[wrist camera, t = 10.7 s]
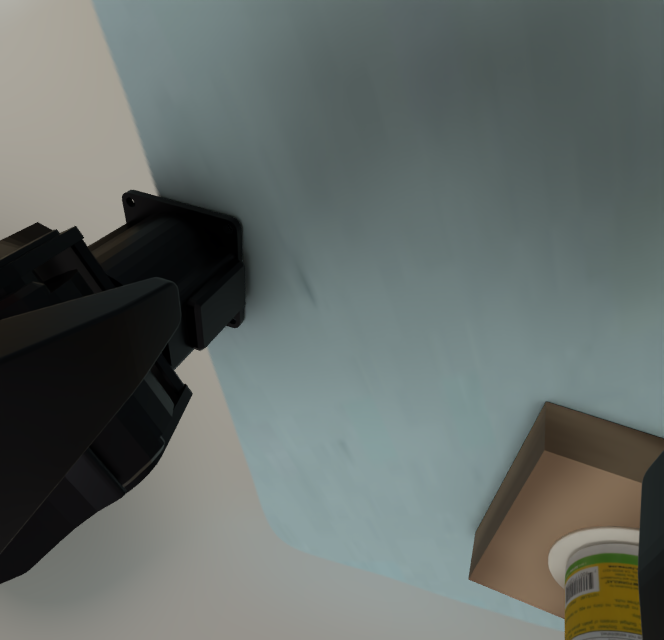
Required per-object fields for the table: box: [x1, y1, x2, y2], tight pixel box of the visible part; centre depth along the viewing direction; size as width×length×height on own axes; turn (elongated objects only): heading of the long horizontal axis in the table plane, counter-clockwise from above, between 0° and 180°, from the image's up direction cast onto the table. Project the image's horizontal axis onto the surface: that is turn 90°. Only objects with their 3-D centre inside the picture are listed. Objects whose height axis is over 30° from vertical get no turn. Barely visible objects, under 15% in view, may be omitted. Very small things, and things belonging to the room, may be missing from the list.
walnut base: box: [469, 402, 664, 619], centre depth 24 cm, size 12×12×3 cm
